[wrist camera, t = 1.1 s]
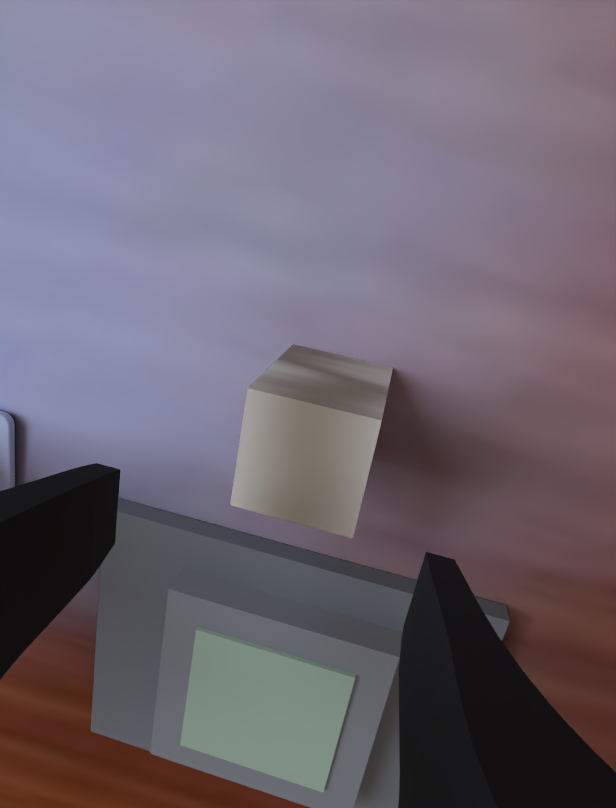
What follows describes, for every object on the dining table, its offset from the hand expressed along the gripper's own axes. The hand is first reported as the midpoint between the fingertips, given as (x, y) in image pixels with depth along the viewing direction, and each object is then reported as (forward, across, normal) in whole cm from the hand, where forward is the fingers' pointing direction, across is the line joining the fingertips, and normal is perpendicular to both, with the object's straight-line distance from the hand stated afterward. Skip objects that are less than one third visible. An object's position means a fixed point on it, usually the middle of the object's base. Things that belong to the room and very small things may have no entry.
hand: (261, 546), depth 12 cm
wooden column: (+10, 0, 0) cm, 10 cm away
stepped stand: (+10, 0, +14) cm, 17 cm away
